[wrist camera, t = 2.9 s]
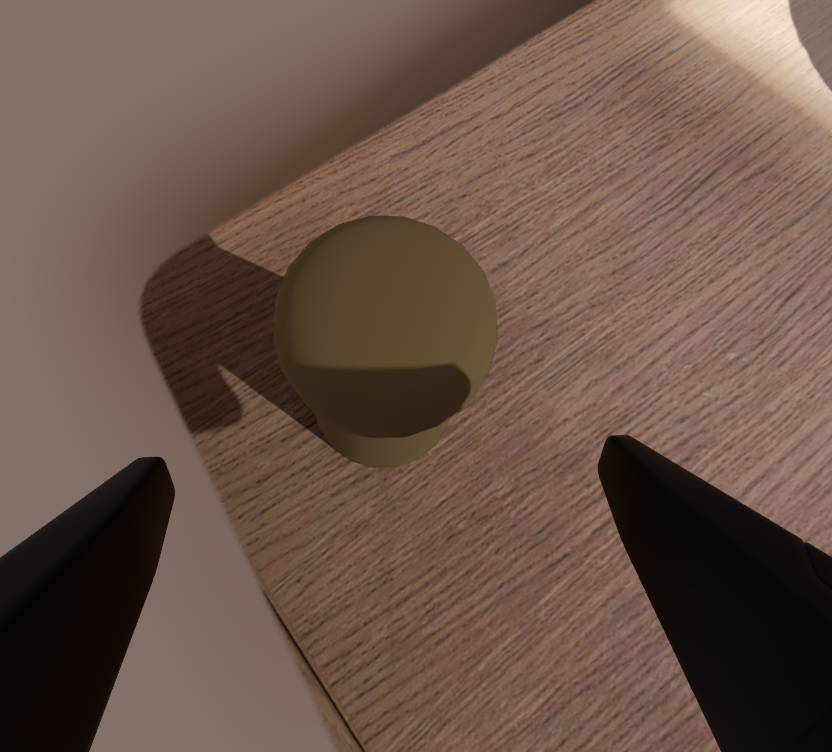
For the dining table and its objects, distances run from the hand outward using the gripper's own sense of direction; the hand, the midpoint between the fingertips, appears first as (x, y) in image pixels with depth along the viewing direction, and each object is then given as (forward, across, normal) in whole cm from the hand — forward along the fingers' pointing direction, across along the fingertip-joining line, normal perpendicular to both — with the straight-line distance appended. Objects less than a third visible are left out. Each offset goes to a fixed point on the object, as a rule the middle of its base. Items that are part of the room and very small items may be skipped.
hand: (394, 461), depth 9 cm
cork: (+10, 0, +5) cm, 11 cm away
